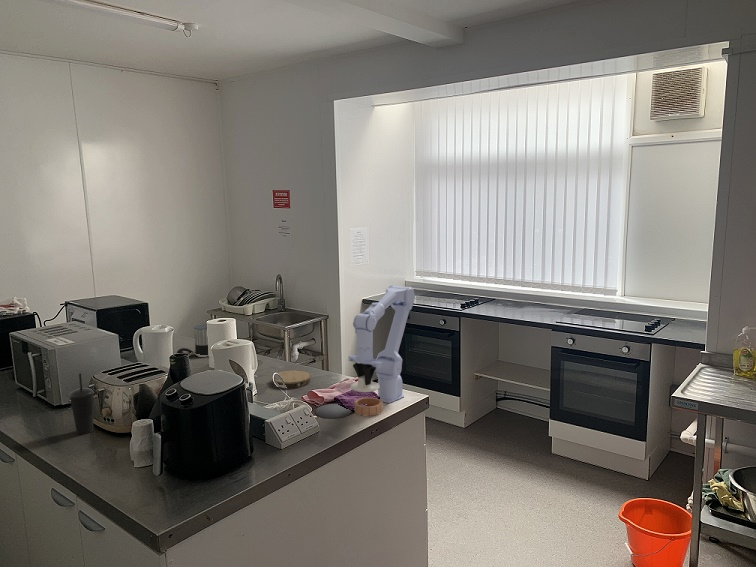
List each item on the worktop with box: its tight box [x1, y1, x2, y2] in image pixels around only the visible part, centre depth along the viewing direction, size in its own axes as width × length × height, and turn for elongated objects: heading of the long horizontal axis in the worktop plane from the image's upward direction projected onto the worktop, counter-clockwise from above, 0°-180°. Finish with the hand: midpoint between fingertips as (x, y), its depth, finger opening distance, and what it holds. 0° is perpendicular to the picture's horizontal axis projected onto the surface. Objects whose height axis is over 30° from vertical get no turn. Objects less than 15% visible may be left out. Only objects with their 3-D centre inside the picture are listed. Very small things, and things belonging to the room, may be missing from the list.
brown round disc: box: [271, 370, 311, 390], centre depth 242 cm, size 16×16×3 cm
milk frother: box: [176, 323, 208, 355], centre depth 281 cm, size 14×16×15 cm
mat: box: [315, 403, 352, 419], centre depth 210 cm, size 13×13×1 cm
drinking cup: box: [68, 373, 95, 435], centre depth 192 cm, size 8×8×20 cm
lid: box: [350, 375, 379, 393], centre depth 209 cm, size 10×10×4 cm
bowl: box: [353, 396, 384, 417], centre depth 210 cm, size 10×10×3 cm
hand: (364, 383), depth 209 cm, fingers closed on lid, 2 cm apart
